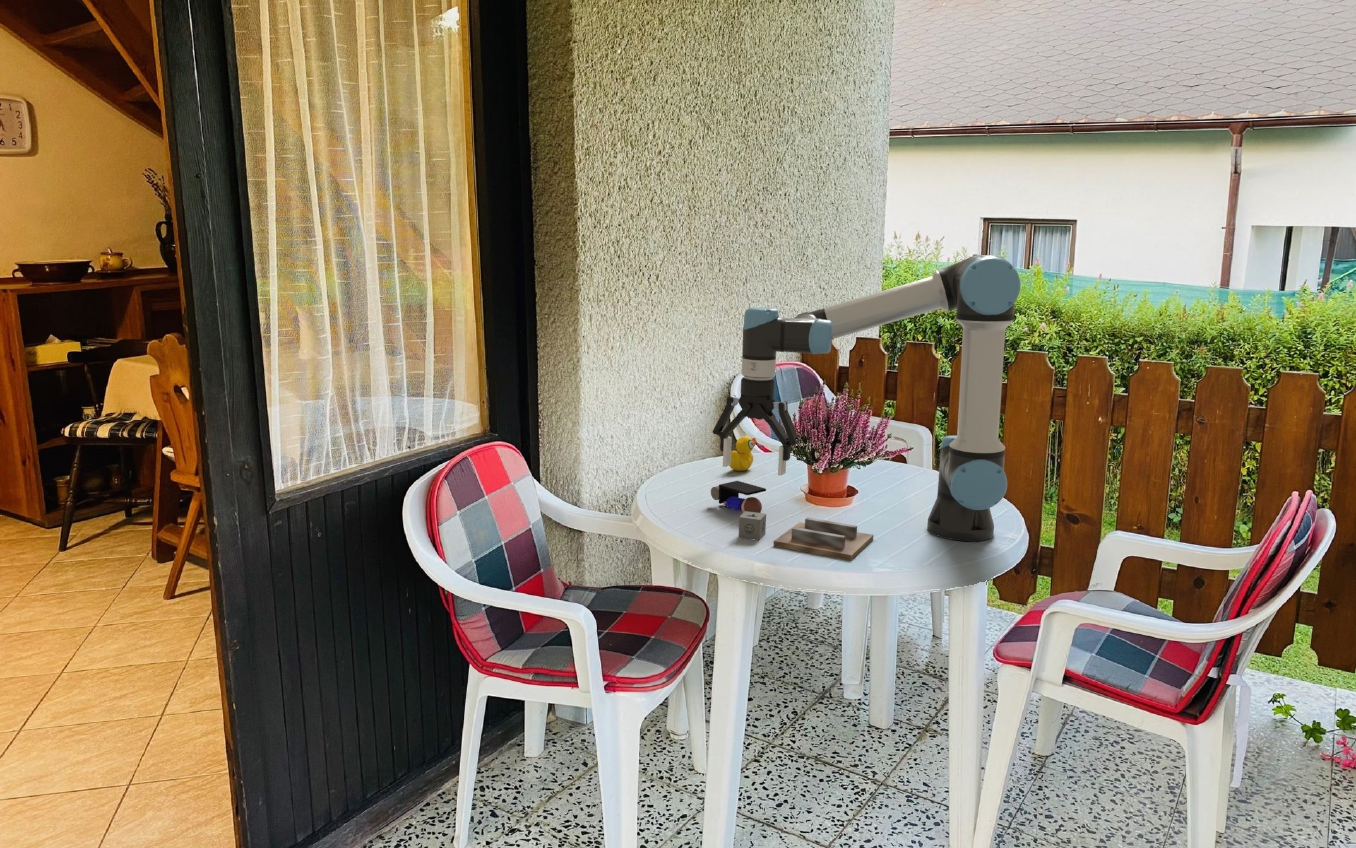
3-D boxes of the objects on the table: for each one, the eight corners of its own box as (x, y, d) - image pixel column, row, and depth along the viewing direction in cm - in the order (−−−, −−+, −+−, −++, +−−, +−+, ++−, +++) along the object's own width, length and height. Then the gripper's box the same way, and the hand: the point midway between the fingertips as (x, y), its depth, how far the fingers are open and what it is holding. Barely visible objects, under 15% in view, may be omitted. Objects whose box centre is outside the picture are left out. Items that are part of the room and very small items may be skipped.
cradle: (873, 539, 215) (874, 524, 214) (851, 560, 201) (852, 544, 200) (799, 527, 223) (800, 512, 223) (773, 546, 209) (774, 530, 209)
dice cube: (738, 538, 215) (739, 517, 214) (744, 531, 219) (745, 511, 218) (759, 540, 213) (760, 519, 212) (765, 534, 218) (766, 513, 217)
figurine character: (709, 512, 239) (747, 520, 227) (707, 482, 238) (746, 489, 226) (729, 507, 243) (768, 516, 231) (728, 478, 242) (767, 485, 230)
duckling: (746, 465, 281) (747, 432, 279) (761, 468, 278) (762, 435, 276) (723, 471, 273) (724, 438, 271) (737, 475, 270) (738, 441, 267)
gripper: (700, 374, 211) (697, 465, 215) (804, 385, 200) (799, 481, 204) (715, 370, 218) (711, 458, 222) (817, 380, 206) (811, 474, 211)
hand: (753, 469), depth 213 cm, fingers open, 13 cm apart
